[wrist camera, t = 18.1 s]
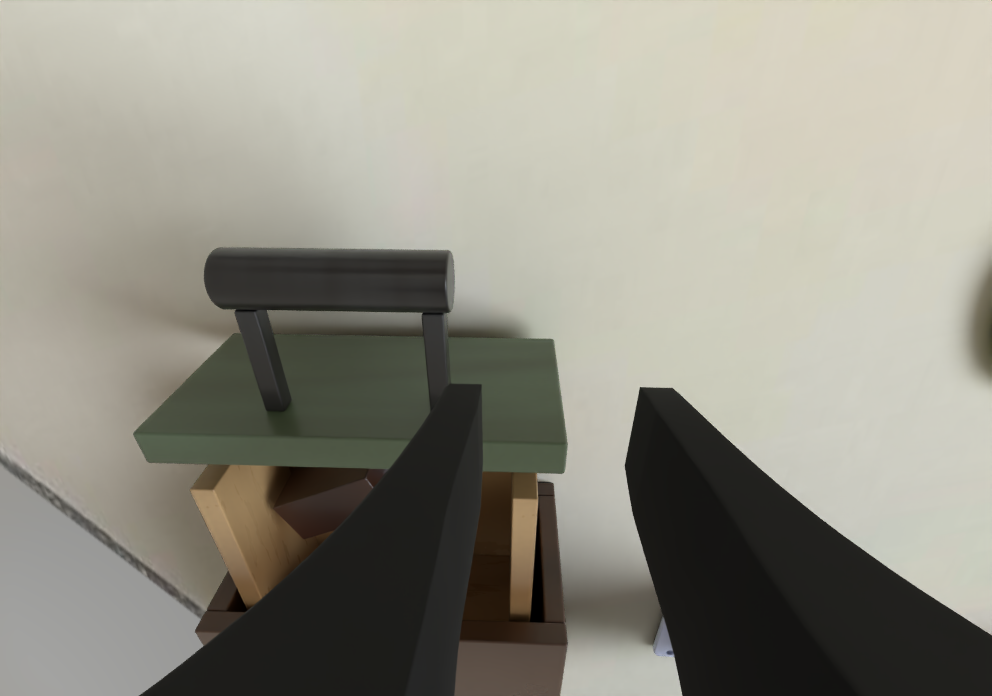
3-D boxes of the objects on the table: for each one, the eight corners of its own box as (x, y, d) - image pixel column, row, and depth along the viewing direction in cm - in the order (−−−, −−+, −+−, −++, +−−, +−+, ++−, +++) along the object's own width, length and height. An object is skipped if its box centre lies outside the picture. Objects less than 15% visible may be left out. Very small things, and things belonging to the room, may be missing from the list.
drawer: (190, 201, 16) (43, 268, 11) (563, 205, 16) (586, 275, 11) (301, 539, 25) (249, 658, 20) (538, 546, 25) (544, 669, 20)
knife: (327, 485, 21) (303, 540, 19) (300, 455, 20) (271, 508, 18) (492, 431, 19) (488, 485, 17) (470, 395, 18) (463, 446, 16)
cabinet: (280, 475, 24) (193, 631, 17) (553, 482, 24) (567, 645, 17) (330, 624, 31) (281, 775, 25) (540, 632, 31) (546, 787, 24)
